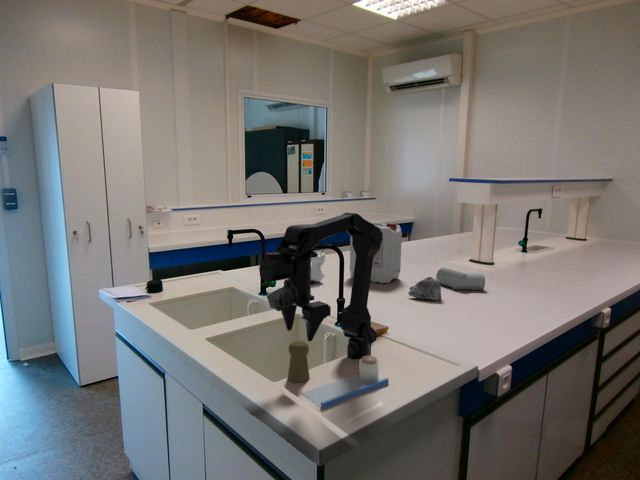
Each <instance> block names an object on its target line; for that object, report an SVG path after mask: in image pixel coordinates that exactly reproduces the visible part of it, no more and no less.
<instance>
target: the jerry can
mask: <svg viewBox="0 0 640 480" xmlns="http://www.w3.org/2000/svg"><path fill="white" fill-rule="evenodd" d="M369 222H370V223H372V224H373V225H375V226H376V227H379V228H380V230H381V232H382V233H383V238H382V242H381V246H380V249H379V251H378V252H377V253H376V255H375V256H374V257H373V264H372V272H371V279H370V281H372V282H371V283H376V282H379V283H378V284H382V283H387V284H390V283H391V282H392V280H397V279H398V278H399V277H400V272H401V263H402V262H401V261H402V242H403V241H402V240H403V233H402V228H401V226H400V225H399V224H397V223H394V222H387V223H382V222H379V221H378V222H377V221H376V222H375V221H369ZM349 236H350V235H349ZM349 241H350V242H349V243H350V247H349V249H350V250H349V272H350V278H351V279H353V276H354V268H355V260H356V254H355V251H354V248H353V246H352V237H351V236H350V238H349Z"/></svg>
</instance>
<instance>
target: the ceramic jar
mask: <svg viewBox="0 0 640 480" xmlns="http://www.w3.org/2000/svg"><path fill="white" fill-rule="evenodd" d="M358 360H359V361H358V362H359V366H358V369H359V370H358V373H359V380H360V381H361V382H363V383H367V384H371V383H374V382H376V381H378V378H379V374H380V373H379V371H380V370H379V367H380V366H379V365H380V364H379V363H380V361H379V359H378V358H377V357H376V356H373V355H369V356H363V357H362V358H361V359H358Z"/></svg>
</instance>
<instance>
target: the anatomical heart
mask: <svg viewBox="0 0 640 480" xmlns="http://www.w3.org/2000/svg"><path fill="white" fill-rule="evenodd" d="M316 253H317V254H318V256H317V257H313V258H311V279H312V280H314V282H319V283H320V282H321V281H323V279H324V278H325V277H326V276H325V273H324V272H323V271H322V269H321V267H323V265H324V263H326V262H325V261H326V253H325V252H322V253H321V251H320V252H319V251H318V252H316Z"/></svg>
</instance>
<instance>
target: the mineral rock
mask: <svg viewBox="0 0 640 480" xmlns="http://www.w3.org/2000/svg"><path fill="white" fill-rule="evenodd" d="M441 290H442V284H441V283H440V280H438V279H436V278H433V277H432V276H427V277H426V278H424V279H422V280H420V281H418V282H417V283H416V284H414V285H412V286H410V287H409V291H408V293H407V294H408V295H409V296H410V297H413V298H417V299H420V300H432V301H441V299H442V291H441Z"/></svg>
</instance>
